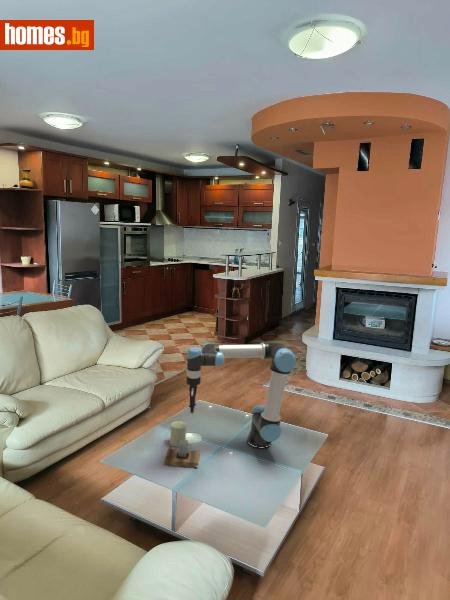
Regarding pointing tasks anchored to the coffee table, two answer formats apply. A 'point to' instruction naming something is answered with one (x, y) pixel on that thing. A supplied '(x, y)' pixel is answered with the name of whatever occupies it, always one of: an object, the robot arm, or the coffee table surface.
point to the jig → (174, 461)
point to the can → (177, 432)
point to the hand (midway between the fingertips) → (191, 417)
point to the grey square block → (182, 449)
